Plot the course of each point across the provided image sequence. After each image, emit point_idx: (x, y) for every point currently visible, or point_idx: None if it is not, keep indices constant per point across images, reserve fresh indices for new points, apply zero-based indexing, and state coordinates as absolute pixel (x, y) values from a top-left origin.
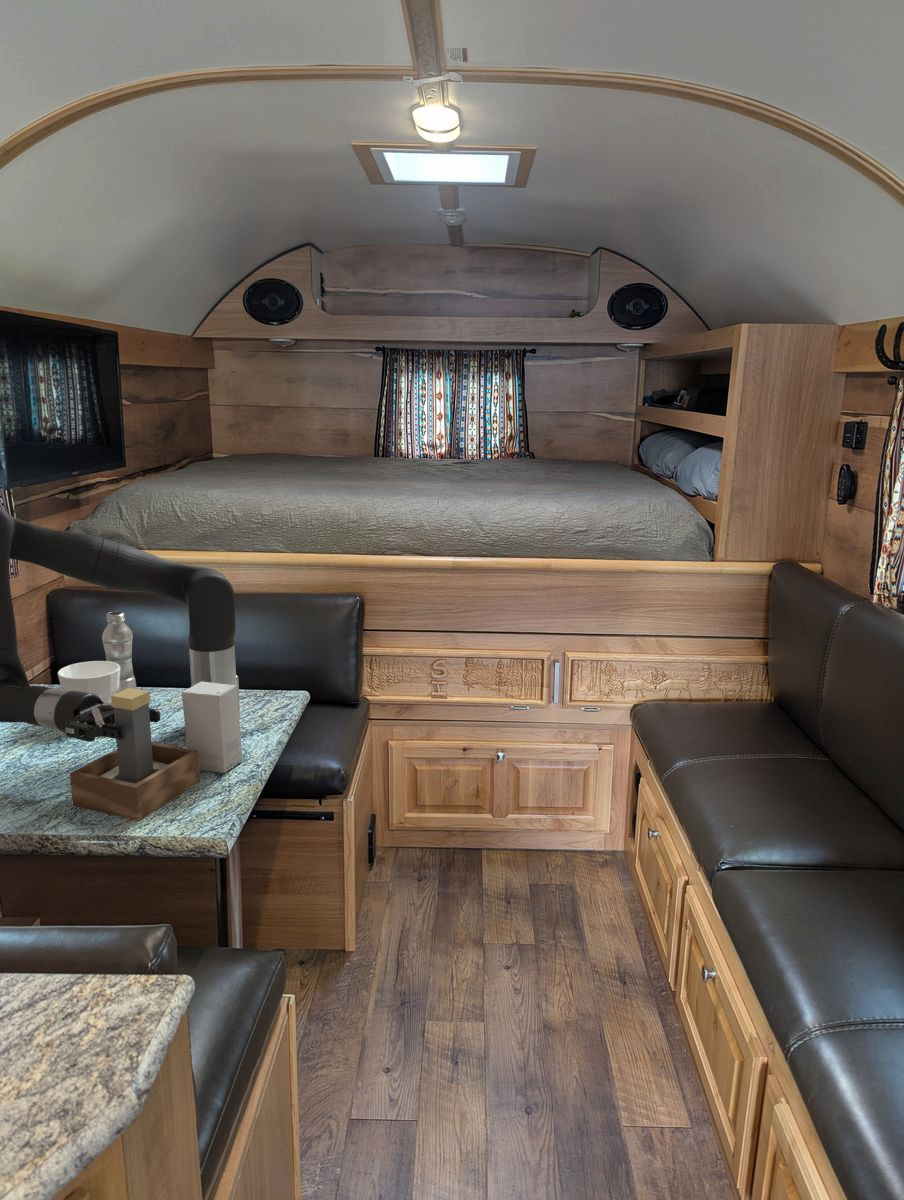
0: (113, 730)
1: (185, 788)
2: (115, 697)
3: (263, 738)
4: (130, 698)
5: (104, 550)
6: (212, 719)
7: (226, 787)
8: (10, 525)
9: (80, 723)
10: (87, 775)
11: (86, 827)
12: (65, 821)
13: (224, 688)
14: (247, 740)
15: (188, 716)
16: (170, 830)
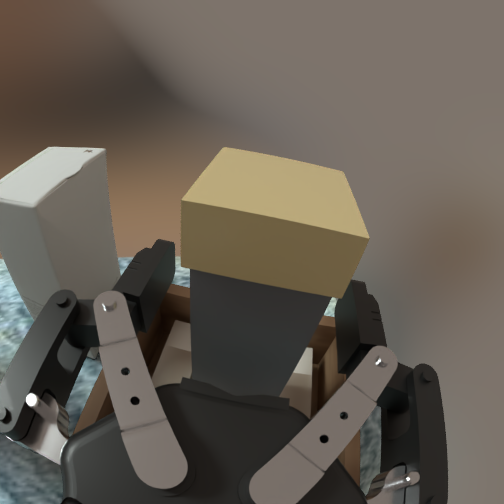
0: (377, 306)
1: None
2: (360, 222)
3: (6, 275)
4: (338, 174)
5: None
6: (103, 215)
7: (176, 284)
8: None
9: (424, 441)
10: (353, 451)
11: (376, 423)
12: (375, 471)
13: (61, 151)
14: (4, 293)
15: (64, 260)
16: (327, 308)
